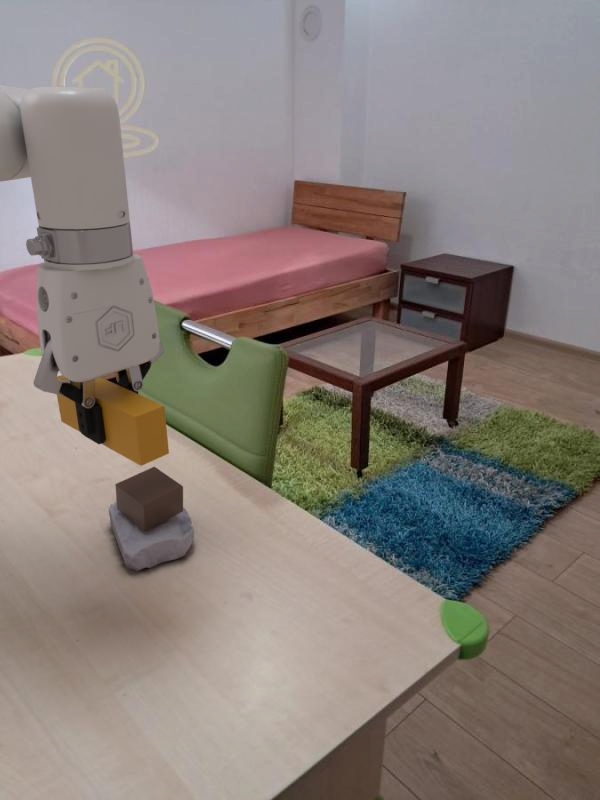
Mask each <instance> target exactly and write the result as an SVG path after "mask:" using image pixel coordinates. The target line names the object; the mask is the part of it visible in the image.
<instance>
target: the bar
mask: <svg viewBox="0 0 600 800" xmlns="http://www.w3.org/2000/svg"><path fill="white" fill-rule="evenodd" d="M57 379H59V380H64V381H66V382H68V380H67V378H65V377H63V376H62V374H60V375H57ZM117 384H118V383H114V382H112V381H109V380H108V379H105V378H103V377H99V378H96V379H95V402H96V404H98V405H100V406H101V408H102V414H103V421H104V429H105V436H106V441H105V442H104V443H102V444H101V445H102V446H104V447H106V448H108V449H109V450H112V451H114V452H116V453H117V454H118V455H121V456H122V457H125V458H126V459H128V460H130V461H131V462H133V463H134V464H137V465H139V466H140V467H143V466H145V465H147V464H149V463H151V462H154V461H155V460H158V459H160V458H162V457H164V456H166V455H169V454H170V449H169V439H168V438H169V437H168V429H167V418H166V409H165V408H166V407H165V405H164V404H161V403H159V402H157V401H155V400H153V399H150V398H149V397H146V396H144V395H141V394H140V393H138V394H137V393H135V392H132V391H130V390H128V389H126V388H123V387H121V386H119V385H117ZM56 399H57V404H58V409H59V417H60V421H61V422H62V423H63V424H64V425H67V426H69V427H70V428H72V429H74V430H75V431H78V432H79V433H81V432H80V430H79V426H78V419H77V413H76V406H75V402H74V401H72V400H70V399H69V398H67V397H65V396H63V395H59V394H56Z"/></svg>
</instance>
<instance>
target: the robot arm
mask: <svg viewBox="0 0 600 800" xmlns="http://www.w3.org/2000/svg"><path fill="white" fill-rule="evenodd" d="M125 169H126V168H125V158H124V149H123V139H122V129H121V118H120V112H119V107H118V104H117V101H116V100H115V98H114V96H113V95H112V94H111V93H109V92H108V91H106V90H104V89H101V88H96V87H85V86H84V87H83V86H38V87H32V88H24V87H19V86H13V85H11V86H10V85H3V84H0V182H7V181H8V182H9V181H15V180H22V179H27V178H28V179H29V178H30V180H31V188H32V193H33V199H34V205H35V211H36V213H35V214H36V219H37V224H38V227H36V232H37V235H36V236H35V237H34V238H28V239H26V241H25V246H26V250H27V252H28V254H29V255H30V256H39V257H41V259H43V262H42V263H39V264H38V266H37V272H36V275H37V276H36V321H37V329H38V330H37V331H38V338H39V346H40V353H41V359H40V363H39V365H38V367H37V370H36V373H35V377H34V379H33V383H32V384H33V386H34V387H35V388H36V389H38V390H40V391H42V392H45V393H48V394H49V393H50V394H54V395H57V394H59V395H63V396H65V397H67V398H69V399H70V400H72V401H74V402H75V406H76V413H77V419H78V426H79V430H80V432H79V433H81V435H82V436H83V437H85V438H87V439H88V440H90V441H92V442H94V443H96V445H103V444H102V443H104V442H105V441H106V436H105V429H104V421H103V414H102V408H101V406H100V405H98V404H96V402H95V379H96V378H99V377H101V378H103V377H106V376H108V375H112V374H114V375H115V378H116V381H117V383H116V384H117V385H119V386H121V387H123V388H126V389H128V390H130V391H132V392H135V393H137V394H139V391H141V390H142V389H143V388H144V379H145V378H146V376H147V374H148V373H149V371H150V369H151V367H152V365H154V364H155V363H156V362H157V360H158V359H159V358H160V357H161V356H163V354H164V352H165V347H164V346H163V344H162V343H161V341H160V331H159V323H158V322H159V321H158V316H157V315H158V314H157V310H156V305H155V300H154V296H153V295H154V294H153V291H152V287H151V283H150V279H149V275H148V272H147V269H146V266H145V263H144V260H143V257H142V255H140V254H135V253H134V249H133V248H134V247H133V238H132V228H131V222H130V209H129V200H128V189H127V179H126V178H127V177H126V170H125ZM59 373H60V375H62V376H63V377H65V378H67V380H68V382H66V381H64V380H59V379H57V376H58V374H59Z"/></svg>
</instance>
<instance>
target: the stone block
mask: <svg viewBox="0 0 600 800" xmlns="http://www.w3.org/2000/svg"><path fill="white" fill-rule="evenodd" d="M108 516H109V523H110V526H111V529H112V532H113V534H114V537H115V541H116V543H117V545H118V548H119V551H120V553H121V556H122V559H123V562H124V565H125V567H126V568H128V569H131V570H133V572H139V571H140V570H143V569H146V568H147V569H151V568H154V567H155V566H157V565H160V564H162V563H165V562H166V563H167V562H169V561H170V562H171V561H175V560H177V559H180V558H182V557H184V556H186V554H187V552H188V551H189V549H190V547H192V543H193V540H194V532H195V530H194V527H193V526H192V518H191V516H190V515H189V512H188V511H187V509H186V508H184V507H183V512H181V513H179V514H177V515H175V516H173V517H171V518H170V519H168V520H166V521H164V522H162V523H160V524H158V525H156V526H155V527H153V528H151V529H149V530H147V531H144V530H143V529H141V528H140V527H139V526H138V525H136V524H135V523H134V522H133V521H131V520H130V519H129V518H127V517H126V516H125V515H124V514H122V513H121V512H120V511H119V510H117V501H115V502H114V503H113V504H110V506H109V507H108Z"/></svg>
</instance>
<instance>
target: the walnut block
mask: <svg viewBox="0 0 600 800" xmlns="http://www.w3.org/2000/svg"><path fill="white" fill-rule="evenodd" d="M115 496H116V498H115V499H116V502H117V510H119V511H120V512H121V513H122V514H124V515H125V516H126V517H127V518H129V519H130V520H131V521H133V522H134V523H135V524H136V525H138V526H139V527H140V528H141V529H143V530H144V531H147V530H149V529H151V528H153V527H155V526H156V525H158V524H160V523H162V522H164V521H166V520H168V519H170V518H171V517H173V516H175V515H177V514H179V513H181V512H183V508H184V486H183V485H182V484H181V483H179V482H177V481H176V480H175V479H173V478H172V477H170V476H169V475H168V474H166V473H164V472H163V471H162V470H160V469H159V468H157V467H156V466H152V467H150V468H148V469H145V470H144V471H141V472H139V473H137V474H134V475H132V476H130V477H128V478H125V479H124V480H121V481H119V482H117V483H115Z"/></svg>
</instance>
